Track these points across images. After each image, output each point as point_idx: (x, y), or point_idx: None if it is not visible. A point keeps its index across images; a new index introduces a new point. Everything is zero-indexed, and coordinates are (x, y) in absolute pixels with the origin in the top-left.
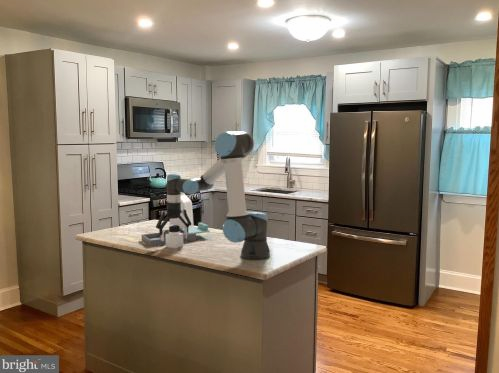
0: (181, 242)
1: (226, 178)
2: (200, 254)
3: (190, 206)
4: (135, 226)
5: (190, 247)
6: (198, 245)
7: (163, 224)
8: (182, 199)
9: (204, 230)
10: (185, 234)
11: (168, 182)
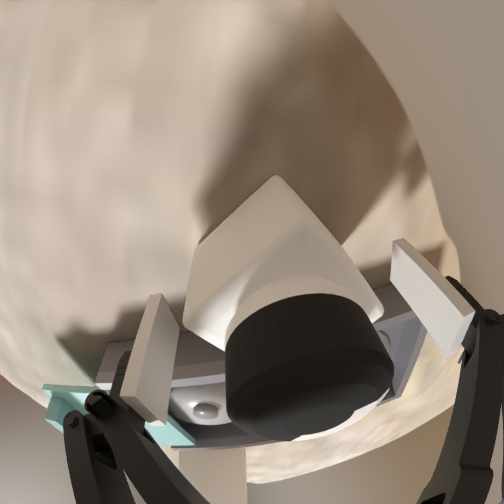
0: (210, 246)
1: None
2: None
3: None
4: (326, 462)
5: (137, 182)
6: (78, 231)
7: (499, 367)
8: None
9: (67, 400)
10: (156, 324)
11: None
